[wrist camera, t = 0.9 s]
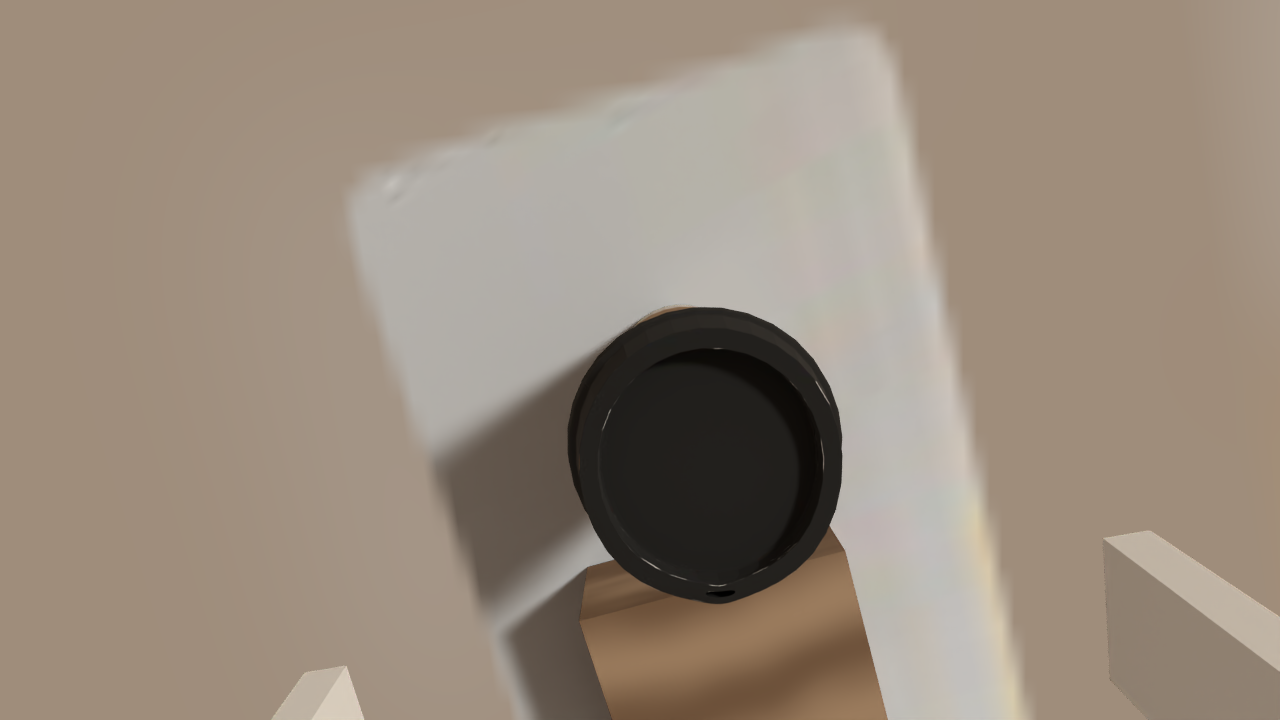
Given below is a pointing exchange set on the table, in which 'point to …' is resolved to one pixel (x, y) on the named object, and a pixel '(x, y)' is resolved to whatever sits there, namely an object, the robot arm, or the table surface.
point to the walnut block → (734, 648)
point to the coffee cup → (706, 452)
